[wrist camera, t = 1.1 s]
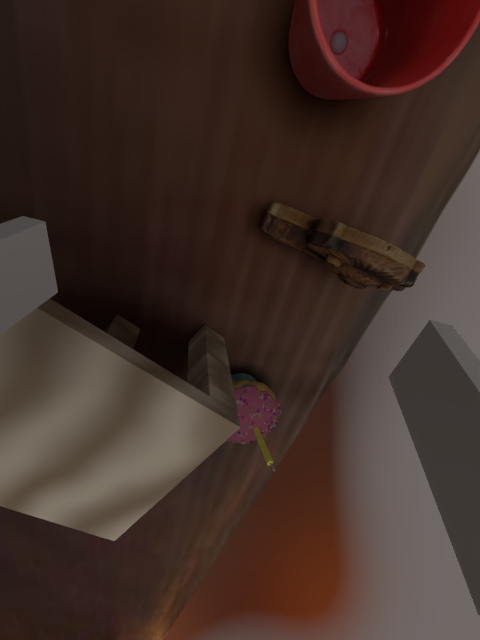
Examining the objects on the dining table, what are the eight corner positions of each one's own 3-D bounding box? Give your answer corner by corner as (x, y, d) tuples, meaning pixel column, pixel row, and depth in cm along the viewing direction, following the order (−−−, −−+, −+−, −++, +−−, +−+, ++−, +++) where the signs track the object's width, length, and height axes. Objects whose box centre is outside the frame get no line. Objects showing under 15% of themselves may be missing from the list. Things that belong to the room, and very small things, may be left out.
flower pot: (369, 133, 28) (448, 113, 19) (256, 104, 25) (288, 68, 17) (416, -22, 23) (547, -139, 15) (286, -73, 21) (349, -244, 12)
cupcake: (279, 367, 38) (312, 442, 28) (258, 416, 42) (280, 499, 31) (215, 355, 36) (224, 430, 25) (198, 408, 39) (200, 494, 29)
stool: (8, 359, 33) (-107, 472, 20) (93, 242, 29) (15, 295, 16) (139, 425, 39) (114, 541, 27) (224, 338, 35) (240, 427, 23)
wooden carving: (244, 239, 30) (265, 266, 22) (260, 194, 29) (289, 203, 20) (375, 282, 35) (437, 318, 26) (395, 244, 33) (469, 270, 24)
